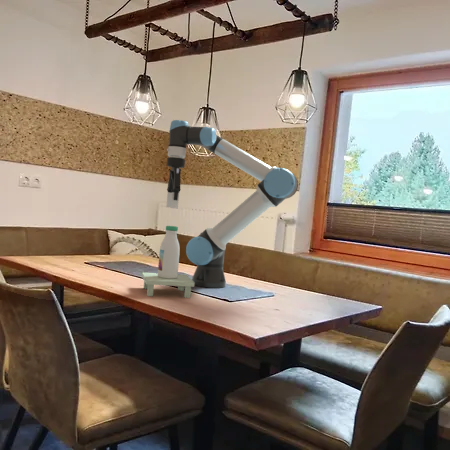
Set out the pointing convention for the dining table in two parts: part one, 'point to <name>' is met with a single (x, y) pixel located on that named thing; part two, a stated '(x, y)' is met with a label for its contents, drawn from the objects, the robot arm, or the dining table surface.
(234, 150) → the robot arm
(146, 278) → the footstool
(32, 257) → the dining table surface
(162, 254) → the milk bottle
